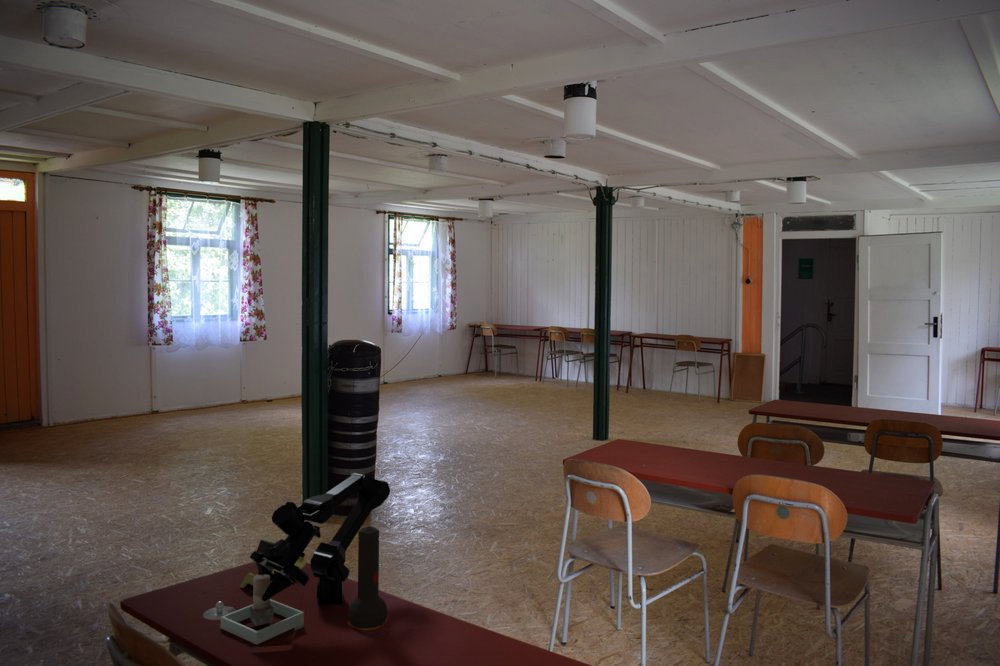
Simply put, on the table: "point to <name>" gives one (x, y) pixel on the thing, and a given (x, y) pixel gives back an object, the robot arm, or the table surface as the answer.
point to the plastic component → (250, 576)
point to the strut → (261, 601)
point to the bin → (293, 620)
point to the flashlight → (368, 583)
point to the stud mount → (218, 611)
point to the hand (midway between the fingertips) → (258, 598)
